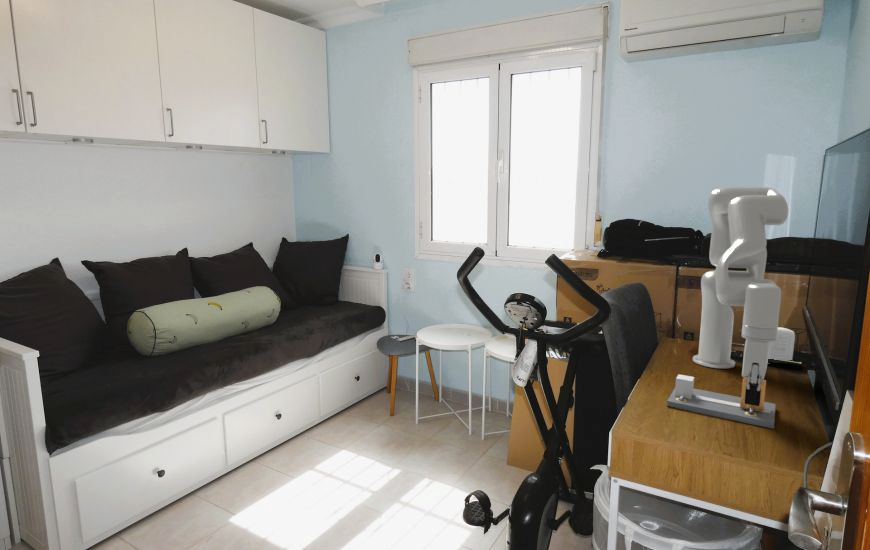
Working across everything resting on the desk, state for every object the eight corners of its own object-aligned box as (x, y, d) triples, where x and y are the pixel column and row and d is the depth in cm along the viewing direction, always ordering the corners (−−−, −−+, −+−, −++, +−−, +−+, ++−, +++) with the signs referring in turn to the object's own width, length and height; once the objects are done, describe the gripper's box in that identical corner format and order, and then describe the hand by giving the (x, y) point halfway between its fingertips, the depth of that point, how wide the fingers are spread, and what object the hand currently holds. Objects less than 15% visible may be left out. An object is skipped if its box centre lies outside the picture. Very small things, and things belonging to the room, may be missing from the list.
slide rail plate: (676, 390, 149) (677, 368, 148) (774, 409, 135) (777, 385, 134) (666, 406, 137) (668, 383, 136) (773, 428, 124) (776, 403, 123)
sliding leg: (741, 401, 135) (743, 376, 134) (763, 406, 132) (766, 380, 131) (739, 410, 129) (741, 384, 128) (762, 415, 126) (765, 388, 125)
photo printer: (787, 361, 175) (791, 326, 173) (794, 365, 170) (798, 329, 168) (754, 360, 176) (758, 325, 174) (760, 364, 172) (764, 328, 170)
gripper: (744, 323, 138) (738, 388, 141) (739, 337, 124) (732, 408, 127) (777, 327, 134) (770, 393, 137) (776, 342, 120) (768, 416, 123)
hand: (752, 400), depth 132 cm, fingers open, 4 cm apart
